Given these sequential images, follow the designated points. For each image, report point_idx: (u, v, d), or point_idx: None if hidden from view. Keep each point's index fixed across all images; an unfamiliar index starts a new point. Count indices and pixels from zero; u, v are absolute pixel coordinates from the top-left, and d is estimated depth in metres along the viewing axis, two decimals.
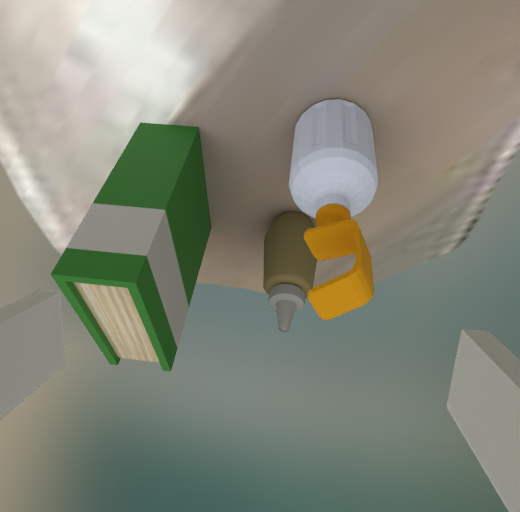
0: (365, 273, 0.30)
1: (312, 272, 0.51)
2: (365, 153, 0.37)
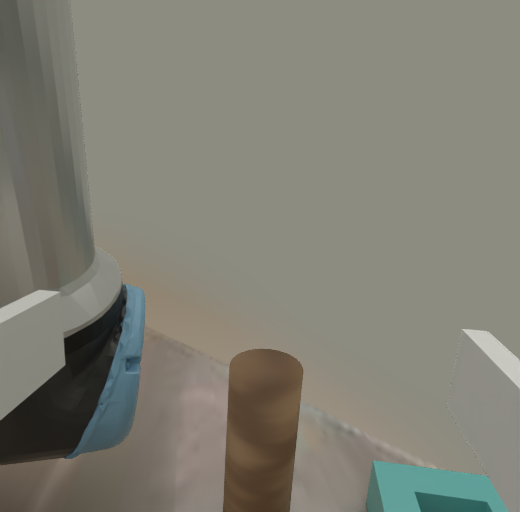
0: None
1: None
2: None
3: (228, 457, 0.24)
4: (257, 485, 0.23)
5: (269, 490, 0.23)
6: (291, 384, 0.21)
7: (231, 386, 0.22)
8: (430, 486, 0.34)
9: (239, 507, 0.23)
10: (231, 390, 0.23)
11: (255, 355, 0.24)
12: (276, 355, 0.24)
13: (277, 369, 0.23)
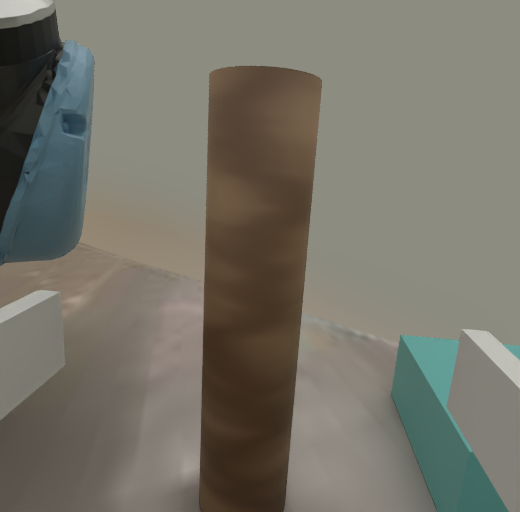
0: None
1: None
2: None
3: (209, 225, 0.16)
4: (252, 252, 0.15)
5: (271, 263, 0.15)
6: (305, 72, 0.14)
7: (211, 96, 0.14)
8: None
9: (226, 297, 0.15)
10: (211, 103, 0.15)
11: None
12: None
13: None
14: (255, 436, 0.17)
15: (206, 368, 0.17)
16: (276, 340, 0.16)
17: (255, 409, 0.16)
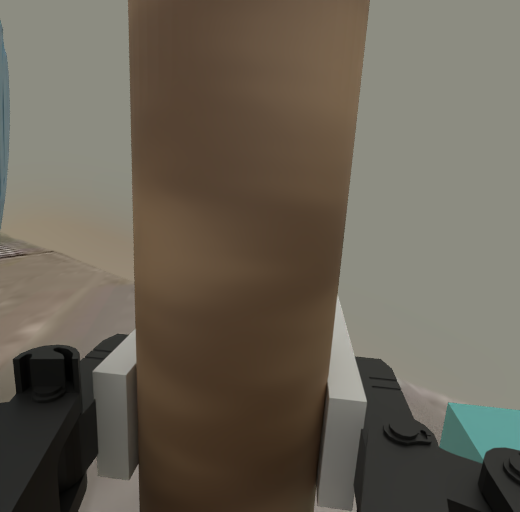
0: None
1: None
2: None
3: (136, 293, 0.08)
4: (220, 361, 0.07)
5: (262, 382, 0.07)
6: None
7: (130, 21, 0.07)
8: None
9: (170, 445, 0.07)
10: (129, 38, 0.07)
11: None
12: None
13: None
14: None
15: None
16: None
17: None
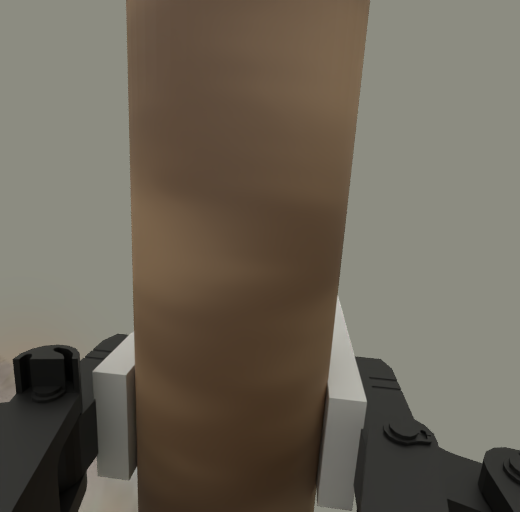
0: None
1: None
2: None
3: (134, 294, 0.08)
4: (219, 363, 0.07)
5: (262, 384, 0.07)
6: None
7: (128, 19, 0.06)
8: None
9: (169, 447, 0.07)
10: (127, 37, 0.07)
11: None
12: None
13: None
14: None
15: None
16: None
17: None
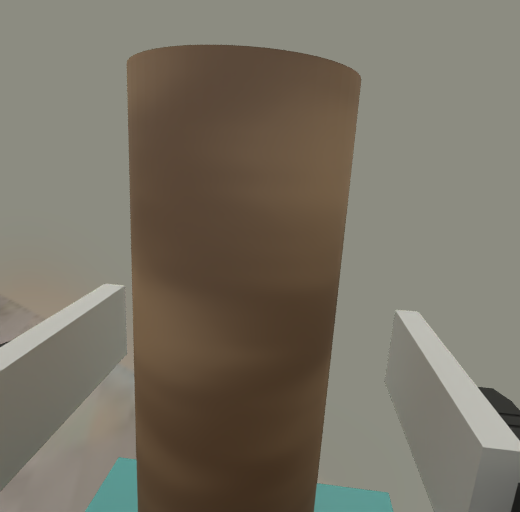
0: None
1: None
2: None
3: (135, 364, 0.08)
4: (216, 439, 0.07)
5: (257, 457, 0.07)
6: (331, 60, 0.06)
7: (129, 113, 0.07)
8: None
9: None
10: (129, 129, 0.07)
11: None
12: None
13: None
14: None
15: None
16: None
17: None
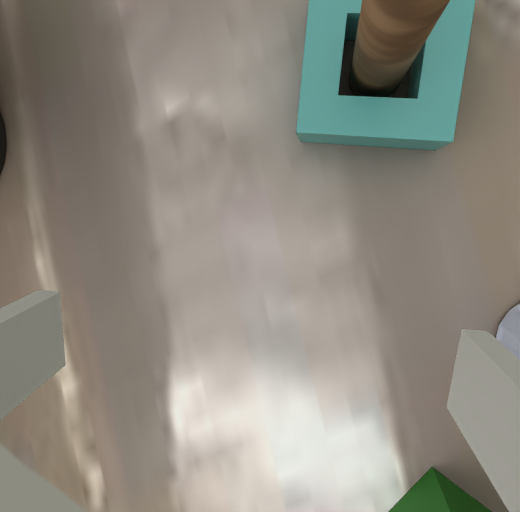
0: None
1: None
2: None
3: (367, 17, 0.21)
4: (399, 43, 0.21)
5: (412, 43, 0.22)
6: None
7: None
8: None
9: (377, 52, 0.24)
10: None
11: None
12: None
13: None
14: (387, 85, 0.29)
15: (359, 60, 0.27)
16: (408, 60, 0.25)
17: (389, 79, 0.28)
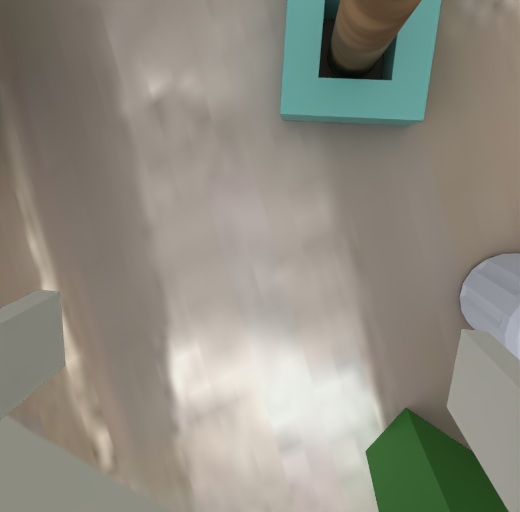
0: None
1: None
2: None
3: (346, 13, 0.23)
4: (375, 37, 0.24)
5: (387, 36, 0.24)
6: None
7: None
8: None
9: (355, 43, 0.26)
10: None
11: None
12: None
13: None
14: (364, 67, 0.31)
15: (338, 46, 0.29)
16: (383, 48, 0.27)
17: (366, 63, 0.30)
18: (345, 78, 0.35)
